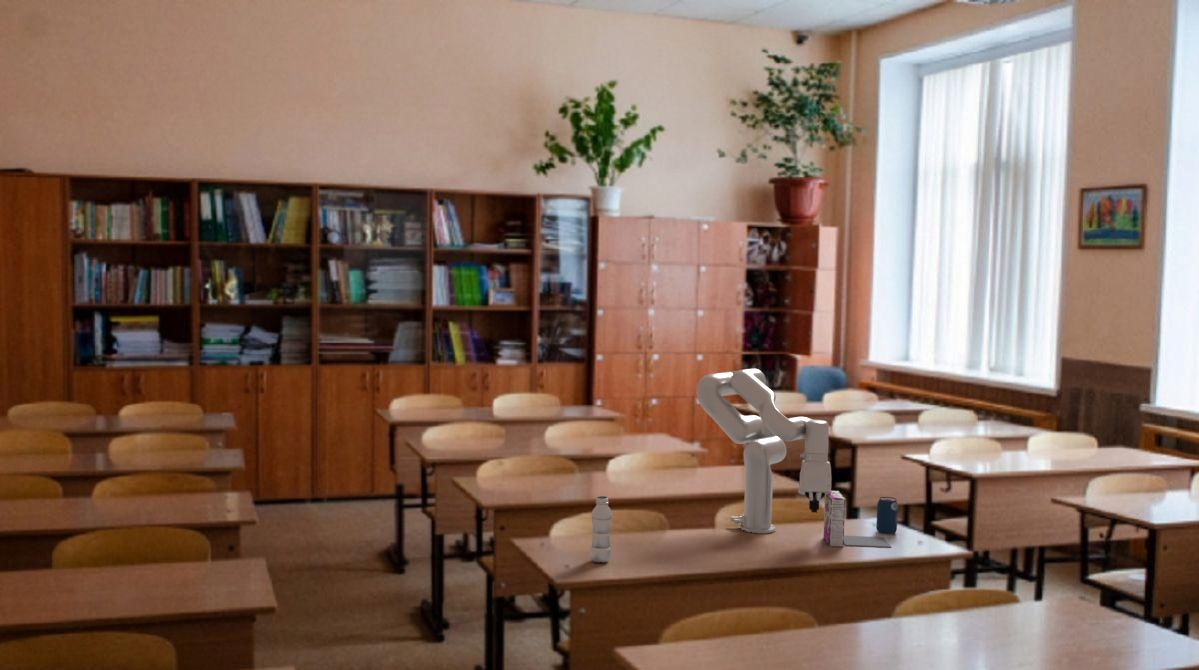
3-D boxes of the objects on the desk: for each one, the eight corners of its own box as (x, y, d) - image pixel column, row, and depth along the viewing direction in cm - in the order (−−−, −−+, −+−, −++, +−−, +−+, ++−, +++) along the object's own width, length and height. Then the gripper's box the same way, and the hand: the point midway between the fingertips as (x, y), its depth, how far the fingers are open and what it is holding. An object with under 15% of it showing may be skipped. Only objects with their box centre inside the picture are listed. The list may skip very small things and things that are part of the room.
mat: (845, 545, 353) (845, 544, 353) (839, 536, 365) (839, 535, 365) (891, 547, 353) (891, 546, 352) (883, 538, 364) (883, 537, 364)
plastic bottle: (585, 562, 326) (587, 498, 324) (596, 557, 332) (598, 493, 330) (604, 566, 323) (606, 501, 321) (614, 560, 329) (616, 496, 327)
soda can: (900, 534, 369) (902, 500, 369) (882, 535, 368) (884, 501, 367) (889, 529, 376) (891, 496, 375) (872, 530, 374) (874, 496, 373)
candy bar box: (822, 537, 363) (824, 490, 361) (837, 538, 363) (839, 490, 361) (828, 546, 352) (830, 497, 350) (843, 547, 351) (846, 498, 350)
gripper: (794, 458, 352) (792, 513, 353) (840, 460, 351) (838, 515, 352) (792, 454, 359) (789, 508, 361) (836, 456, 358) (834, 509, 360)
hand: (813, 511), depth 357 cm, fingers closed
